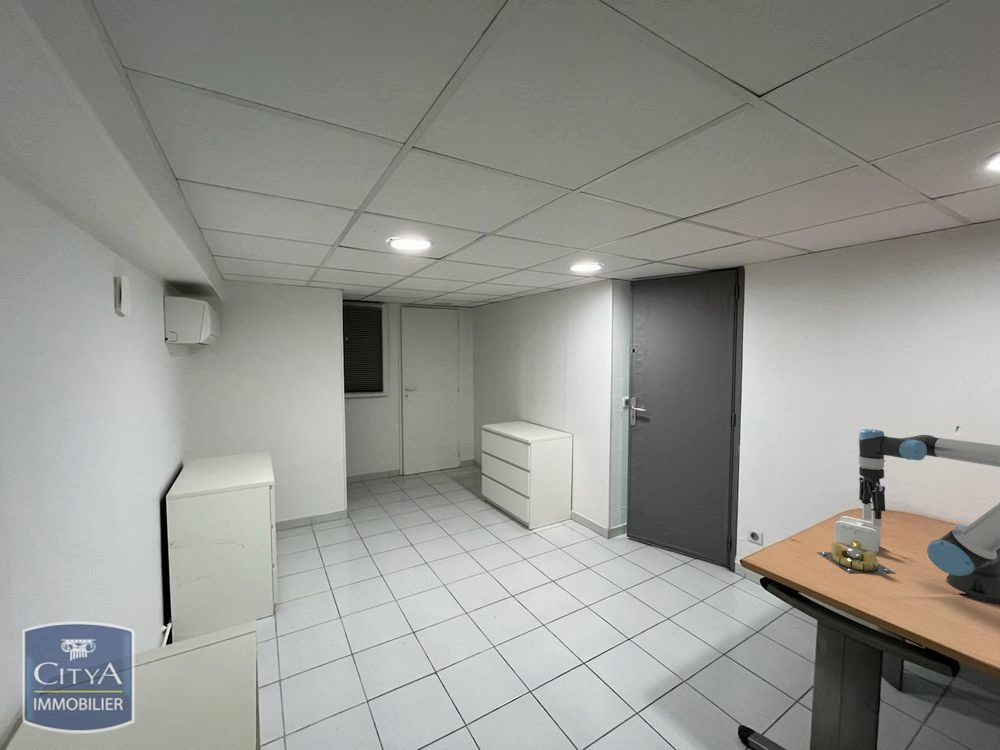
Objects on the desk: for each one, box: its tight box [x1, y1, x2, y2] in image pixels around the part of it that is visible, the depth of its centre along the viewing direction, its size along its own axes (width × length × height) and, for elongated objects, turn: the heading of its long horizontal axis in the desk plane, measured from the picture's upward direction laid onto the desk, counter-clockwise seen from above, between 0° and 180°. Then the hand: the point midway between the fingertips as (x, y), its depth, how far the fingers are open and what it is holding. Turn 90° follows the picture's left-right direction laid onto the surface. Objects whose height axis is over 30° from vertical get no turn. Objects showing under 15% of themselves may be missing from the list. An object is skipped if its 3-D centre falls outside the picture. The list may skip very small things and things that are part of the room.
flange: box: [816, 546, 897, 575], centre depth 167 cm, size 18×18×7 cm
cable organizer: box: [834, 515, 882, 554], centre depth 183 cm, size 15×11×12 cm
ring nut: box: [830, 540, 879, 571], centre depth 167 cm, size 14×14×7 cm
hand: (871, 522), depth 165 cm, fingers open, 6 cm apart
